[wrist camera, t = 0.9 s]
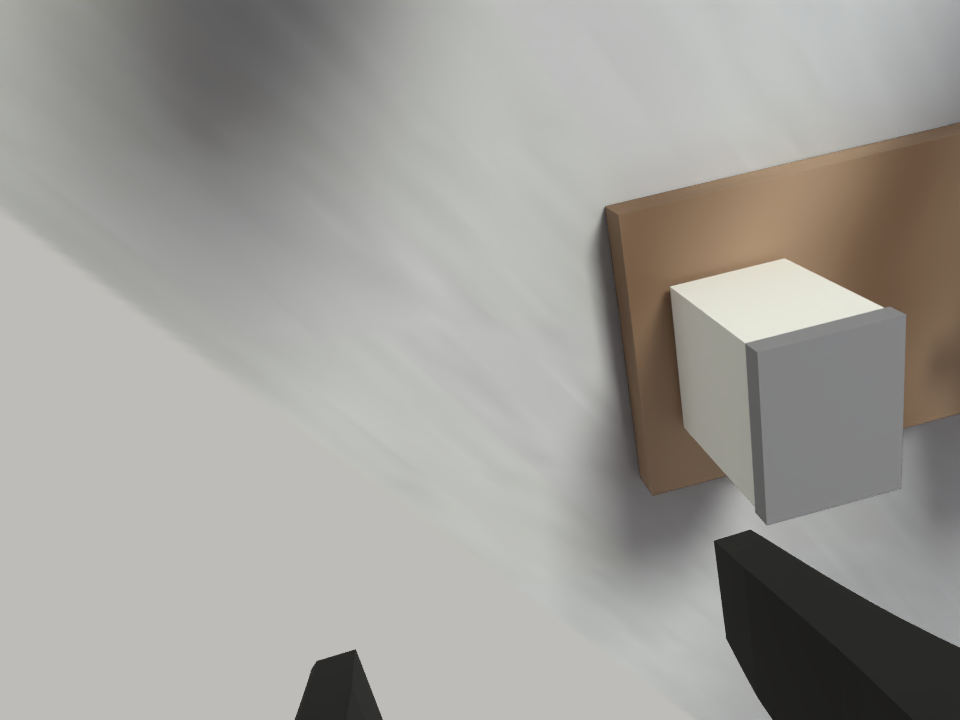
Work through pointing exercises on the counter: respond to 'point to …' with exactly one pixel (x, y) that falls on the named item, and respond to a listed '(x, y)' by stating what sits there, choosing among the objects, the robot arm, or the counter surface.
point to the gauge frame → (808, 243)
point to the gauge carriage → (792, 386)
